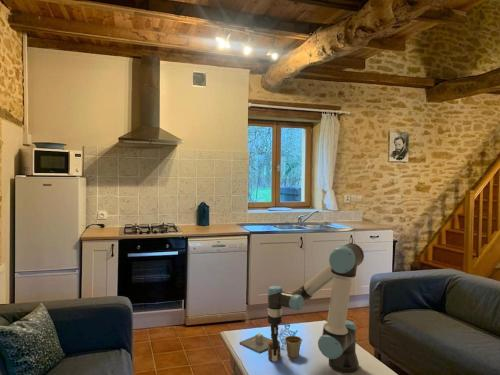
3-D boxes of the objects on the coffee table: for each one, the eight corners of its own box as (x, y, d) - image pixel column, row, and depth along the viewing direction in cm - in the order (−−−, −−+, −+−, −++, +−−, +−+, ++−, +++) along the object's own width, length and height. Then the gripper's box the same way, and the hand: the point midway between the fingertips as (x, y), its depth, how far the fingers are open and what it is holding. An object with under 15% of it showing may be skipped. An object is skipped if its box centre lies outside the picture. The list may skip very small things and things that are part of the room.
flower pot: (301, 360, 195) (301, 343, 195) (283, 358, 197) (283, 342, 197) (302, 352, 204) (302, 336, 204) (285, 350, 206) (285, 335, 206)
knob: (279, 353, 201) (279, 339, 201) (280, 359, 195) (280, 344, 195) (268, 353, 201) (268, 339, 201) (268, 359, 195) (268, 344, 195)
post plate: (278, 344, 213) (278, 335, 213) (259, 353, 202) (259, 343, 202) (258, 335, 224) (258, 327, 224) (239, 343, 213) (239, 334, 213)
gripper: (266, 307, 209) (266, 346, 210) (268, 323, 186) (268, 366, 187) (280, 307, 209) (279, 346, 210) (283, 323, 186) (282, 366, 187)
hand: (274, 355), depth 198 cm, fingers open, 10 cm apart
